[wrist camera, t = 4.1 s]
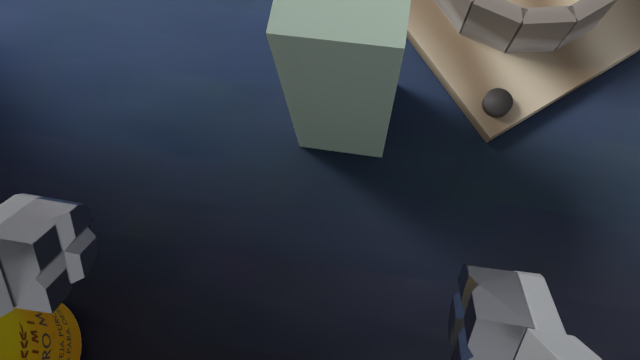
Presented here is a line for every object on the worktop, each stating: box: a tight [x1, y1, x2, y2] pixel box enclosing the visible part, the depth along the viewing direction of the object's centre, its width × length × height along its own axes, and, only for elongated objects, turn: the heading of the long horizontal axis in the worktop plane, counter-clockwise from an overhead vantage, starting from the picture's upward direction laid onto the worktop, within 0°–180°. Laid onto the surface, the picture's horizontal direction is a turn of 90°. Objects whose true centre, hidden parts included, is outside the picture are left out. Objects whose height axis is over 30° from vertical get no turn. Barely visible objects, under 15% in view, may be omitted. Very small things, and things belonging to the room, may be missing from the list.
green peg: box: [266, 0, 411, 158], centre depth 23 cm, size 5×5×12 cm
